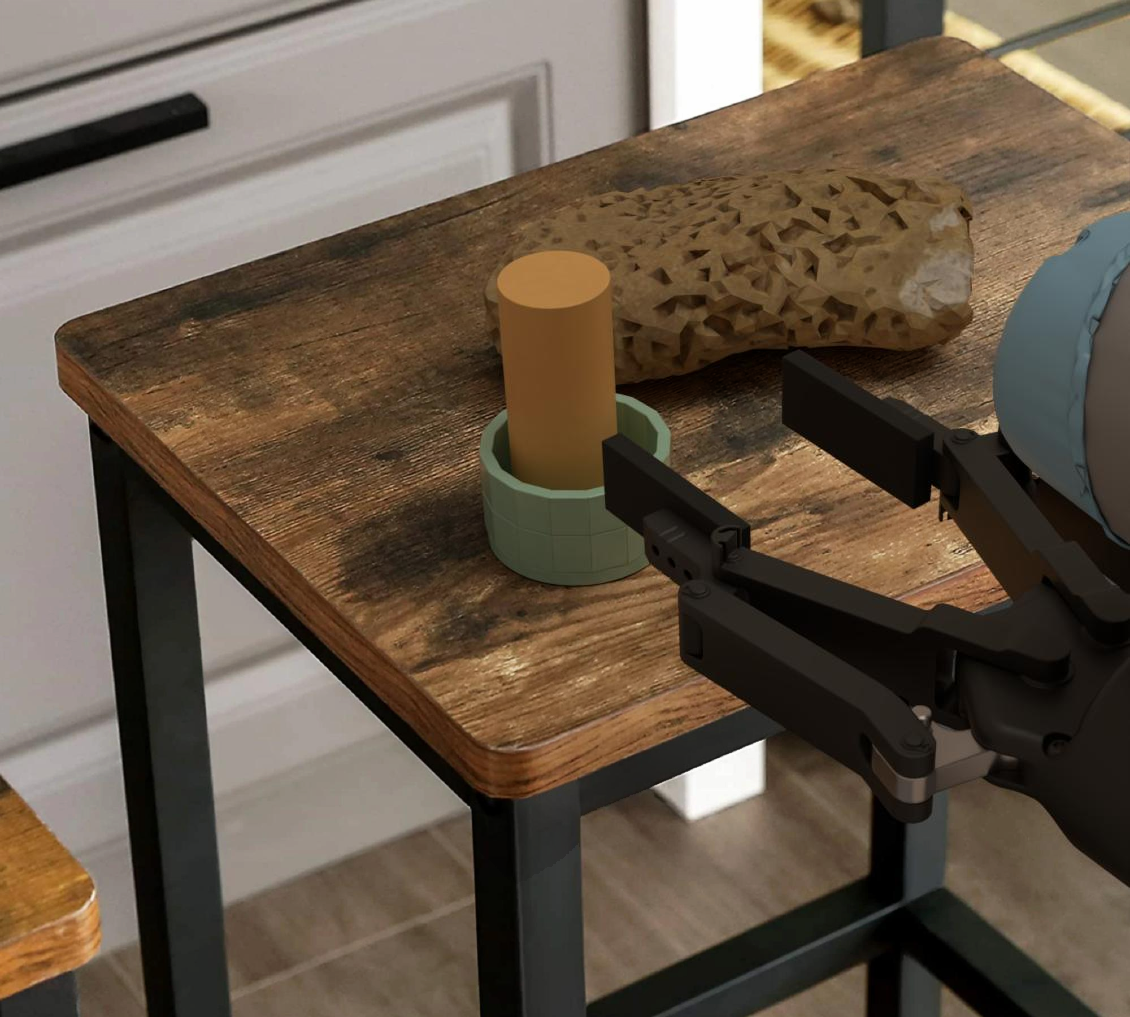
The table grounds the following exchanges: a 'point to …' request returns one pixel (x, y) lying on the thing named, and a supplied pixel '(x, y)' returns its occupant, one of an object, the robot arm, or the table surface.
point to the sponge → (768, 265)
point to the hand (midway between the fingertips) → (704, 428)
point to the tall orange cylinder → (558, 367)
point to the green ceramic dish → (564, 510)
